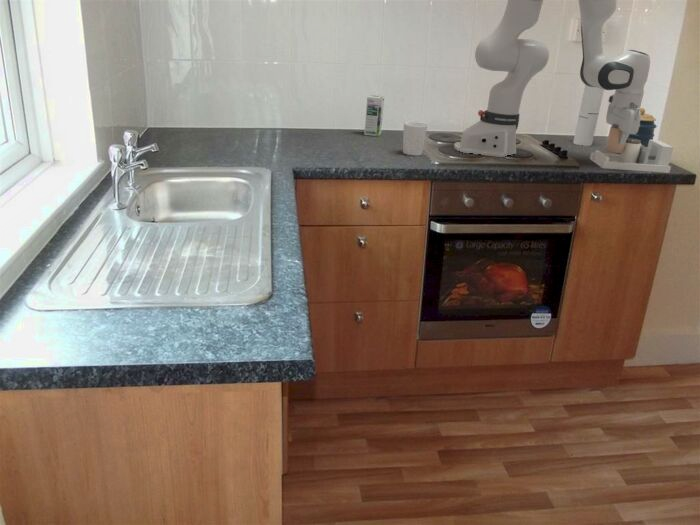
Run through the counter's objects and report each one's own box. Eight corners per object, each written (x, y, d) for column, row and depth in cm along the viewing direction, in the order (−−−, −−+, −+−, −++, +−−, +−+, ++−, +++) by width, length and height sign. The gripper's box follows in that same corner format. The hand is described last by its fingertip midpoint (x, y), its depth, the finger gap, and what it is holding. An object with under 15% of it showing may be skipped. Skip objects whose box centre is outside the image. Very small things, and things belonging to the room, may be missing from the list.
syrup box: (363, 135, 243) (367, 96, 237) (366, 132, 248) (370, 94, 242) (378, 136, 242) (382, 97, 236) (381, 134, 247) (384, 95, 241)
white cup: (426, 152, 223) (429, 123, 219) (420, 157, 216) (424, 127, 212) (404, 149, 225) (407, 121, 221) (398, 154, 218) (401, 124, 214)
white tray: (602, 169, 218) (608, 143, 214) (589, 160, 230) (595, 135, 226) (668, 174, 218) (676, 148, 214) (652, 165, 230) (659, 139, 226)
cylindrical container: (592, 146, 253) (607, 81, 243) (574, 144, 254) (587, 80, 244) (590, 143, 260) (604, 79, 250) (572, 141, 261) (585, 78, 251)
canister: (607, 153, 244) (617, 106, 237) (620, 149, 253) (631, 103, 246) (641, 160, 236) (653, 112, 229) (653, 156, 245) (665, 109, 238)
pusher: (642, 169, 219) (647, 148, 216) (630, 161, 228) (635, 142, 225) (672, 171, 219) (678, 151, 216) (659, 164, 228) (665, 144, 226)
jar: (626, 153, 219) (633, 127, 216) (610, 152, 218) (616, 126, 215) (617, 149, 225) (624, 123, 221) (601, 148, 224) (608, 122, 220)
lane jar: (618, 165, 222) (624, 140, 219) (616, 161, 228) (622, 136, 224) (636, 168, 221) (643, 142, 218) (634, 164, 227) (640, 138, 223)
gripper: (649, 107, 205) (638, 149, 211) (625, 97, 224) (615, 136, 230) (629, 105, 205) (619, 148, 211) (607, 95, 224) (598, 135, 230)
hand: (617, 141), depth 220 cm, fingers closed on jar, 6 cm apart
